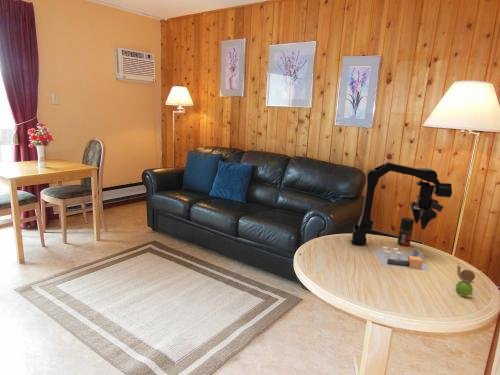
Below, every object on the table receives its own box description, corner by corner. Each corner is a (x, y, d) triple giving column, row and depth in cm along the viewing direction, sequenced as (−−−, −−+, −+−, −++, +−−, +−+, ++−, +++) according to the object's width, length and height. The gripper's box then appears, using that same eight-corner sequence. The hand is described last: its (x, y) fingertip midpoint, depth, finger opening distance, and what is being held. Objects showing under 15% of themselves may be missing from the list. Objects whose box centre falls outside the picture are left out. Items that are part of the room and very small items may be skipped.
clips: (384, 257, 157) (385, 251, 157) (381, 252, 164) (382, 246, 163) (400, 259, 156) (401, 253, 156) (397, 254, 163) (397, 248, 162)
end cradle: (417, 262, 155) (418, 255, 154) (411, 255, 162) (412, 248, 162) (422, 262, 154) (424, 255, 154) (417, 255, 162) (418, 248, 161)
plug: (388, 265, 149) (389, 256, 149) (386, 261, 153) (387, 253, 152) (421, 269, 147) (423, 260, 147) (418, 265, 151) (420, 256, 150)
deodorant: (397, 247, 174) (402, 219, 171) (396, 243, 180) (400, 216, 177) (410, 249, 173) (415, 221, 169) (408, 245, 178) (413, 218, 175)
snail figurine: (453, 288, 135) (458, 260, 132) (472, 294, 131) (478, 265, 128) (450, 293, 130) (456, 264, 128) (470, 299, 126) (476, 270, 124)
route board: (382, 267, 150) (382, 265, 149) (373, 251, 167) (374, 249, 167) (429, 273, 147) (430, 270, 147) (416, 256, 164) (417, 254, 164)
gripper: (451, 201, 151) (445, 234, 155) (435, 192, 169) (429, 222, 173) (425, 199, 153) (419, 231, 156) (412, 190, 171) (407, 219, 174)
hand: (419, 226), depth 165 cm, fingers open, 9 cm apart
